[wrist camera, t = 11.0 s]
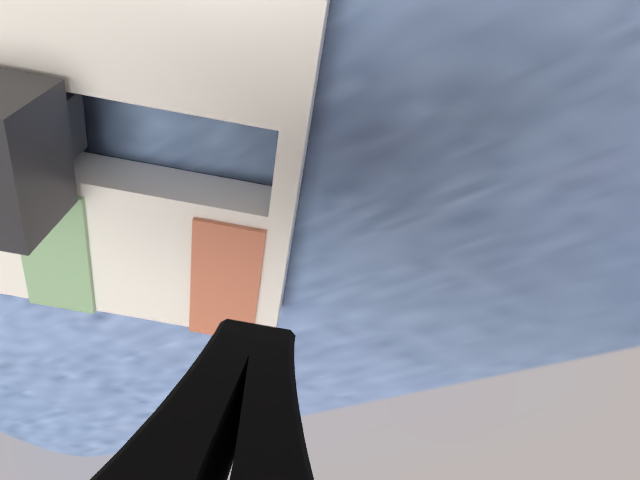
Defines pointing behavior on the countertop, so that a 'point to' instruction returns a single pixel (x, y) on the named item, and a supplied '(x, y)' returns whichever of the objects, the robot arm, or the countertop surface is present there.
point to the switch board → (163, 182)
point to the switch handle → (36, 156)
